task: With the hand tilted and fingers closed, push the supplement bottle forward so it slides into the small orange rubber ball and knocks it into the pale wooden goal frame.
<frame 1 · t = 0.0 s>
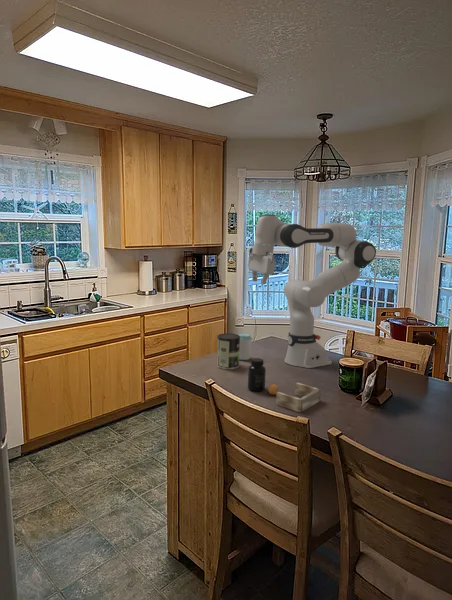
hand: (258, 282, 190), 39 cm above the counter, tool pointing down, fingers open, 8 cm apart
goal: (296, 402, 158), on the counter
ball: (273, 389, 164), point 2 cm above the counter
teal lidded jar: (243, 359, 208), on the counter
supplement bottle: (256, 389, 170), on the counter
coffee can: (227, 366, 197), on the counter
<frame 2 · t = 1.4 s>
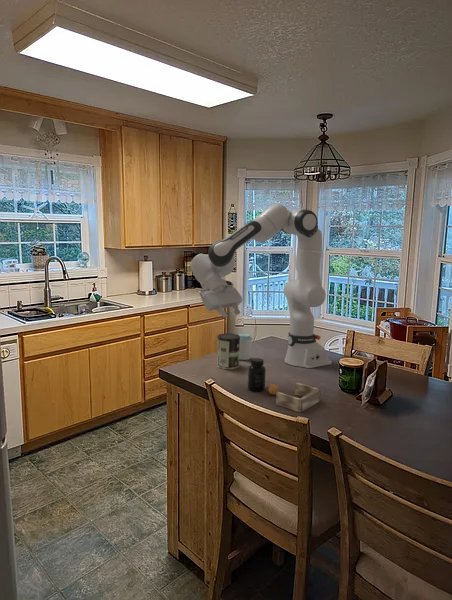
hand: (232, 315, 173), 28 cm above the counter, tool tilted 45°, fingers open, 6 cm apart
nothing on the counter moved.
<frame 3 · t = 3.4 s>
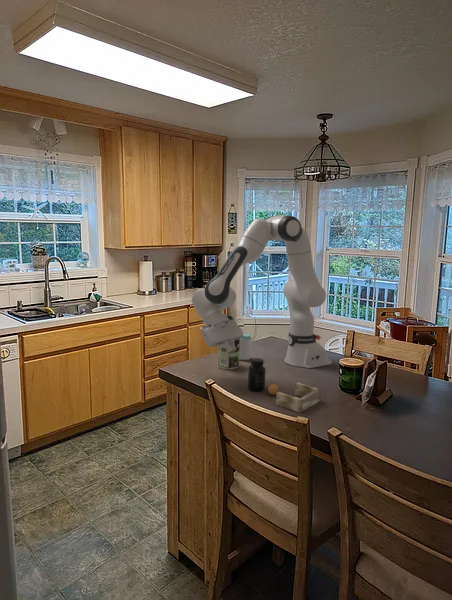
hand: (233, 350, 175), 13 cm above the counter, tool tilted 45°, fingers closed
nothing on the counter moved.
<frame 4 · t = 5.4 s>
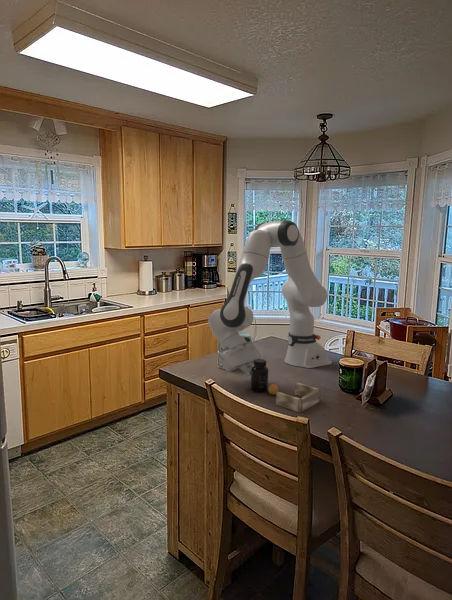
hand: (251, 374, 170), 5 cm above the counter, tool tilted 45°, fingers closed
supplement bottle: (258, 390, 169), on the counter, touching gripper
everything else where it was.
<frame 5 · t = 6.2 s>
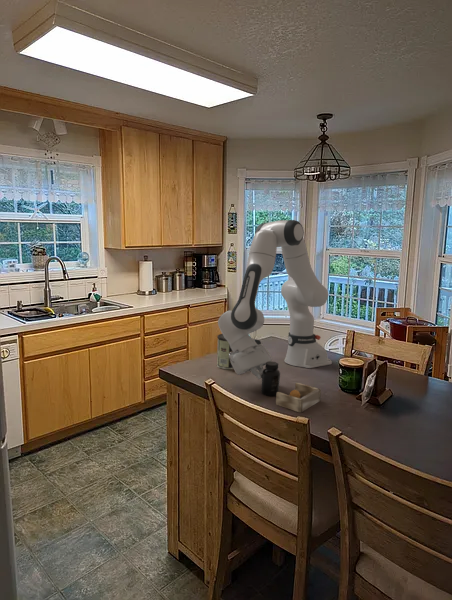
hand: (262, 377, 167), 5 cm above the counter, tool tilted 45°, fingers closed, pressing on supplement bottle
ball: (294, 395, 159), point 2 cm above the counter, tilted 111°
supplement bottle: (269, 393, 166), on the counter, touching gripper
everything else where it was.
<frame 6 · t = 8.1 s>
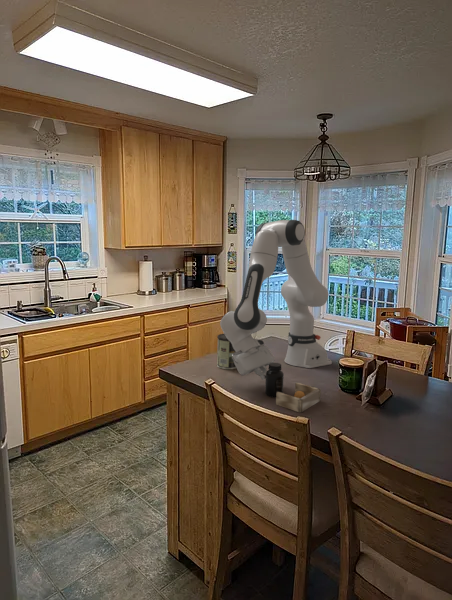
hand: (265, 378, 166), 6 cm above the counter, tool tilted 45°, fingers closed
ball: (299, 396, 158), point 2 cm above the counter, tilted 62°
supplement bottle: (273, 394, 165), on the counter, touching gripper
everything else where it was.
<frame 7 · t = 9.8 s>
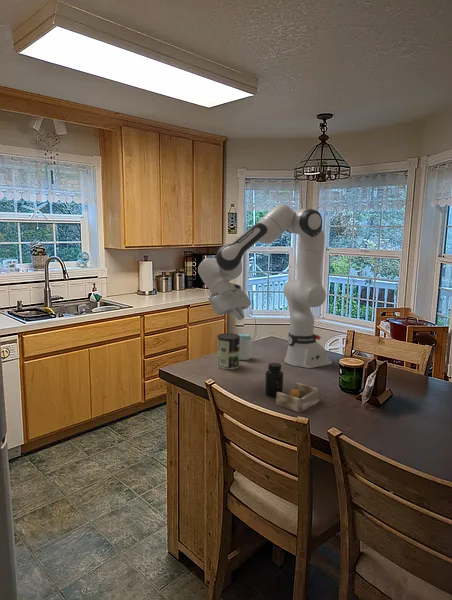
hand: (241, 318, 173), 26 cm above the counter, tool tilted 45°, fingers closed
ball: (294, 394, 160), point 2 cm above the counter, tilted 129°
supplement bottle: (273, 394, 165), on the counter
everything else where it was.
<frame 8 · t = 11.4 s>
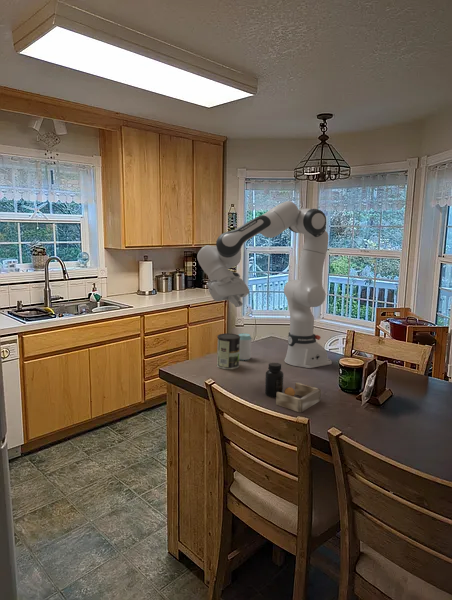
hand: (239, 306, 174), 31 cm above the counter, tool tilted 45°, fingers closed
ball: (289, 392, 162), point 2 cm above the counter, tilted 168°
everything else where it was.
at the end: ball 4.7 cm from the goal (horizontally); ball point 2.0 cm above the counter; supplement bottle moved 8.2 cm from its start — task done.
